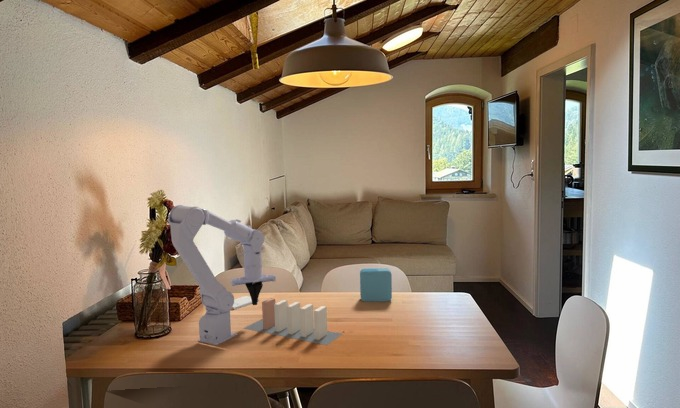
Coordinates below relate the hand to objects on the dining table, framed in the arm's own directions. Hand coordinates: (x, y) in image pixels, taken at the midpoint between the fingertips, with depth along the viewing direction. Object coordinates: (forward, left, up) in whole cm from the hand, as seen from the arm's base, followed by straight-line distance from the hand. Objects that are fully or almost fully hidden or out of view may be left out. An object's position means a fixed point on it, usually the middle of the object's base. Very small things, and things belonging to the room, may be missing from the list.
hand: (254, 304), depth 159 cm
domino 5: (0, -26, -7) cm, 27 cm away
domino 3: (0, -16, -7) cm, 17 cm away
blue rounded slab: (+43, -25, -8) cm, 50 cm away
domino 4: (0, -21, -7) cm, 22 cm away
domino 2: (0, -11, -7) cm, 13 cm away
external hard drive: (+16, +21, -8) cm, 28 cm away
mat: (0, -15, -7) cm, 17 cm away
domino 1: (0, -6, -7) cm, 9 cm away
